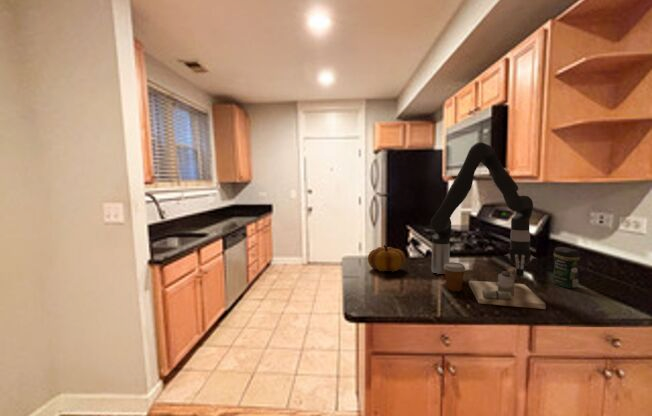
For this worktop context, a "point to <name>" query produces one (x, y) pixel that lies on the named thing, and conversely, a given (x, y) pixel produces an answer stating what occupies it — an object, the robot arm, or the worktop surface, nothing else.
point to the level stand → (505, 295)
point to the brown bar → (506, 281)
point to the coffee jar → (566, 267)
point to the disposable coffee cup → (454, 275)
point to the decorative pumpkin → (386, 259)
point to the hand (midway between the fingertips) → (519, 276)
